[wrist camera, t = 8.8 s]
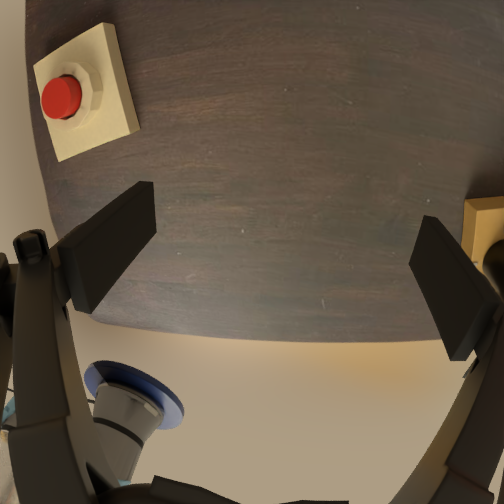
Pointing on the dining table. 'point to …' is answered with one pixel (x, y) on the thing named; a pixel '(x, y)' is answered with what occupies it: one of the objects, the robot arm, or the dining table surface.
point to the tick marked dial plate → (482, 227)
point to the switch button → (61, 97)
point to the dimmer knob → (495, 267)
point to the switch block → (90, 92)
